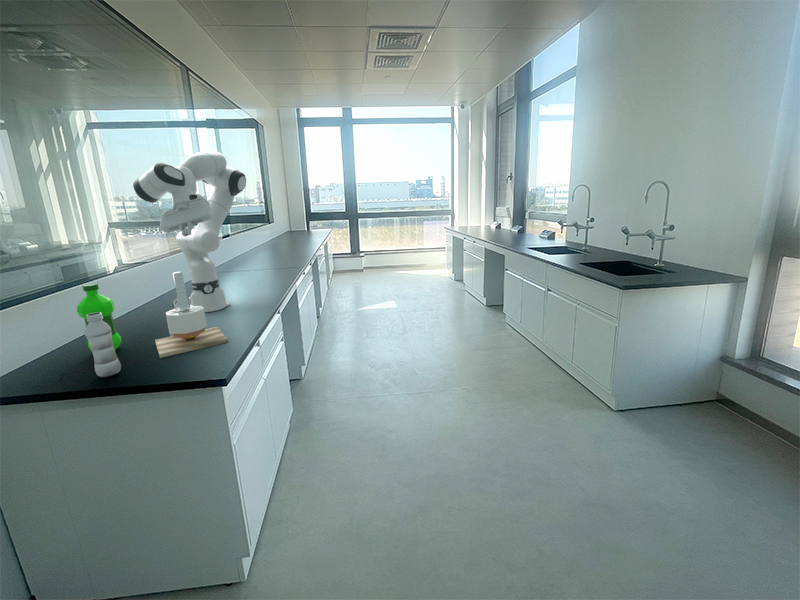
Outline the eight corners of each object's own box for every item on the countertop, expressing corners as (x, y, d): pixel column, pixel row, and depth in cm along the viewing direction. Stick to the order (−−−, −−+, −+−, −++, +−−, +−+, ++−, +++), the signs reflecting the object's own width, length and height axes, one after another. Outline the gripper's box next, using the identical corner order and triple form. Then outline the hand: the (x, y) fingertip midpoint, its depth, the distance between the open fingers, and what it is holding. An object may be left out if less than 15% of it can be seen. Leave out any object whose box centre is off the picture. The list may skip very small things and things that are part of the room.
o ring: (172, 332, 148) (171, 328, 147) (201, 326, 153) (200, 322, 153) (175, 339, 140) (174, 335, 139) (206, 332, 145) (205, 328, 145)
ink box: (170, 338, 153) (162, 303, 149) (174, 332, 161) (167, 298, 157) (180, 337, 154) (173, 301, 150) (184, 331, 162) (177, 297, 158)
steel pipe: (179, 338, 148) (166, 272, 141) (198, 334, 152) (186, 270, 145) (182, 343, 143) (168, 275, 136) (201, 339, 146) (188, 272, 140)
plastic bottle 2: (127, 370, 126) (112, 310, 120) (110, 379, 119) (94, 317, 114) (109, 370, 126) (93, 311, 121) (91, 379, 120) (74, 317, 115)
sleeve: (168, 328, 148) (164, 310, 146) (203, 321, 154) (199, 304, 152) (172, 336, 138) (168, 317, 136) (208, 328, 145) (205, 310, 143)
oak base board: (155, 343, 149) (154, 339, 148) (217, 330, 161) (217, 326, 160) (159, 358, 134) (159, 353, 134) (227, 342, 146) (226, 338, 146)
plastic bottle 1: (82, 357, 139) (63, 288, 132) (107, 346, 149) (91, 281, 142) (107, 357, 137) (89, 288, 131) (131, 346, 147) (115, 281, 141)
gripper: (155, 208, 153) (156, 238, 149) (203, 193, 151) (205, 223, 147) (167, 216, 159) (168, 245, 155) (213, 201, 157) (215, 231, 153)
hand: (186, 234), depth 151 cm, fingers closed
